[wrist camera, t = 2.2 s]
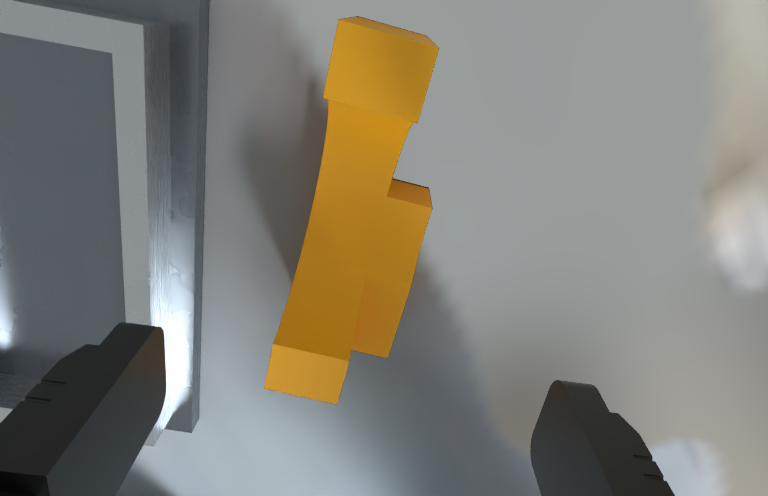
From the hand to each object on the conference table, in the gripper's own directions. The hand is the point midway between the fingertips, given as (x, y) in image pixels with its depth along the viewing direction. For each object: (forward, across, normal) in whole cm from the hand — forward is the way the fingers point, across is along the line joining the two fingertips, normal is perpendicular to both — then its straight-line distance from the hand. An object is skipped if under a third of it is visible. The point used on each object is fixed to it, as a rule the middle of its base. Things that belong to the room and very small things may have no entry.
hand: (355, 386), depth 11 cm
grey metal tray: (+12, +13, +3) cm, 18 cm away
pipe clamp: (+12, 0, 0) cm, 12 cm away
